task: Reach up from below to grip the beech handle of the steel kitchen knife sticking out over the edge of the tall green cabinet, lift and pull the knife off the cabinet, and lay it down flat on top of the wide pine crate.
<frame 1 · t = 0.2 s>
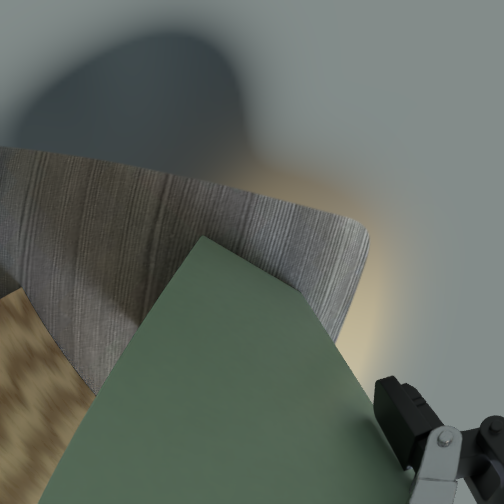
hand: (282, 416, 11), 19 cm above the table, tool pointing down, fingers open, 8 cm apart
crate: (28, 361, 30), on the table
tall green cabinet: (221, 315, 30), on the table
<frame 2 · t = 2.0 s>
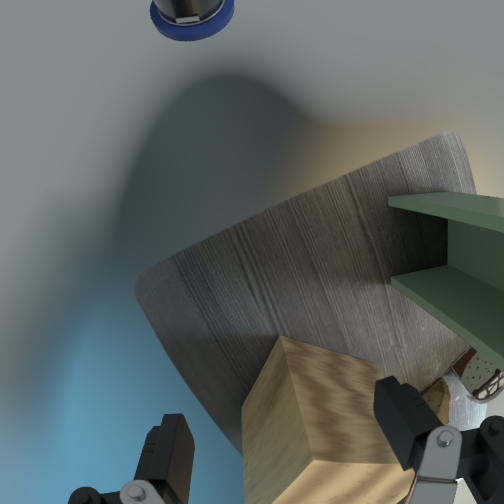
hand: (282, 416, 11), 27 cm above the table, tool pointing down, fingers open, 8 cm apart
crate: (308, 387, 42), on the table
rock: (422, 399, 45), on the table
tall green cabinet: (422, 237, 38), on the table
mint chocolate cake slice: (470, 357, 44), on the table
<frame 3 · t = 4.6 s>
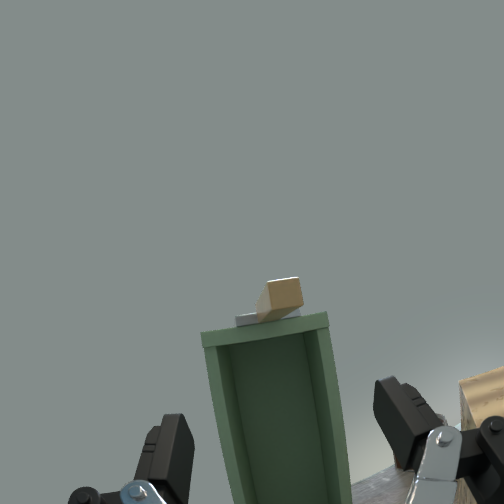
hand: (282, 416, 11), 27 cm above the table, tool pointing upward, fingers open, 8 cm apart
knife: (269, 321, 28), point 32 cm above the table, touching tall green cabinet
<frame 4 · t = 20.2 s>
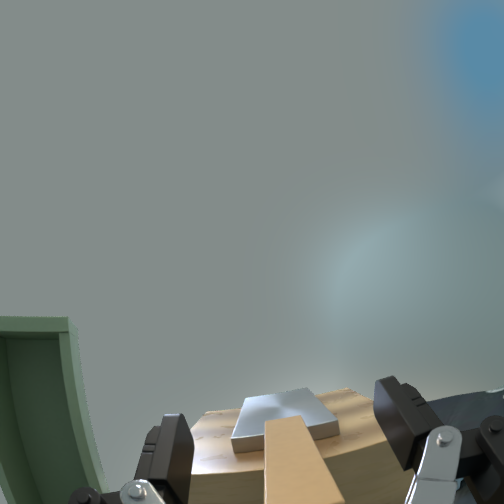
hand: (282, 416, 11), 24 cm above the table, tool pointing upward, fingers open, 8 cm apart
knife: (287, 446, 14), point 21 cm above the table, touching crate
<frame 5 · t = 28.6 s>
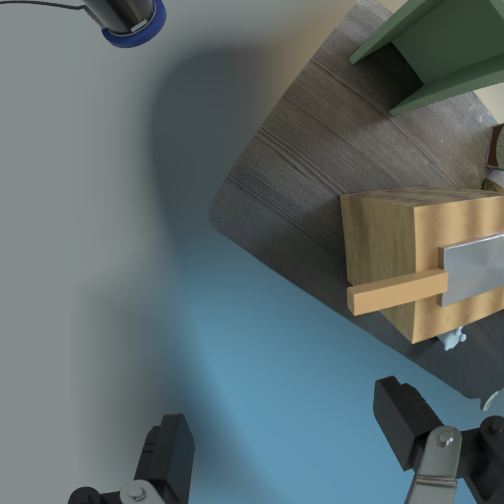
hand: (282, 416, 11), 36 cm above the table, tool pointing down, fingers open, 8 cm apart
figurine: (444, 323, 52), on the table
knife: (437, 276, 26), point 21 cm above the table, touching crate
crate: (388, 231, 47), on the table
rock: (483, 205, 47), on the table
tall green cabinet: (392, 73, 41), on the table
mint chocolate cake slice: (496, 152, 44), on the table
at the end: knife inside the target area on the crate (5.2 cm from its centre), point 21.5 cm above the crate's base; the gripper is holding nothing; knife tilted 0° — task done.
